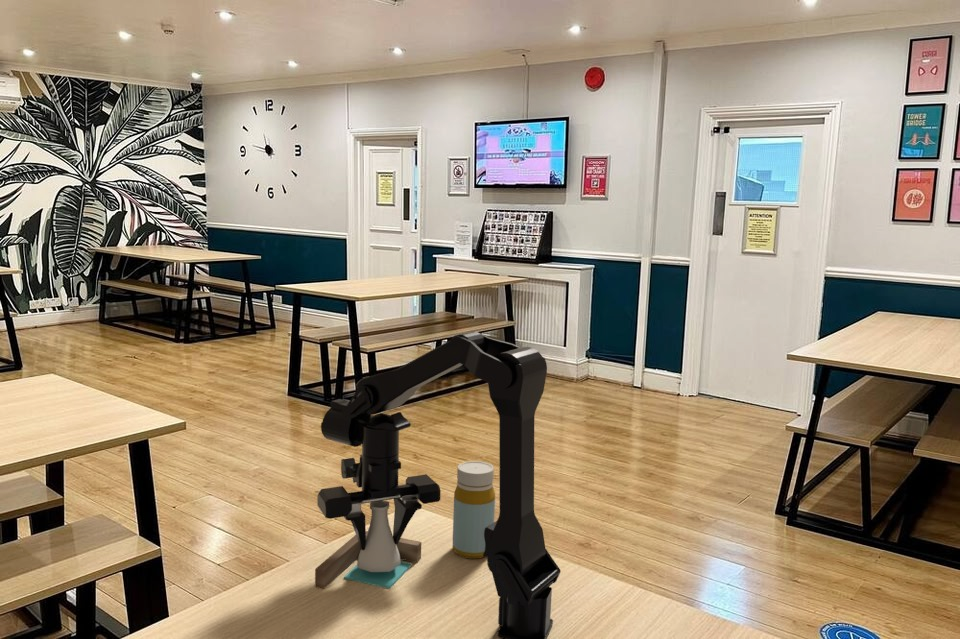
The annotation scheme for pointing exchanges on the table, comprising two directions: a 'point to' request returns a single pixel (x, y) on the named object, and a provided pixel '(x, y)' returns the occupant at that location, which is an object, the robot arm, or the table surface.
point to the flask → (379, 542)
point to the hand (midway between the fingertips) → (379, 546)
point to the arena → (350, 553)
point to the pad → (378, 575)
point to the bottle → (473, 508)
